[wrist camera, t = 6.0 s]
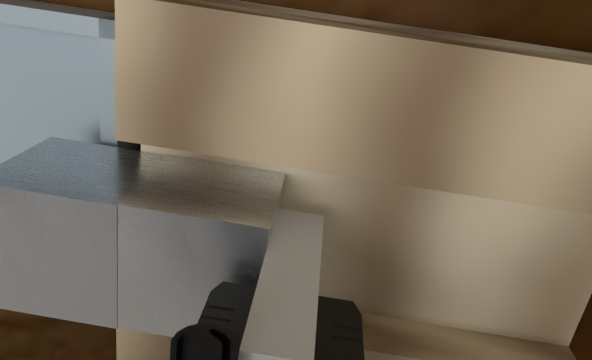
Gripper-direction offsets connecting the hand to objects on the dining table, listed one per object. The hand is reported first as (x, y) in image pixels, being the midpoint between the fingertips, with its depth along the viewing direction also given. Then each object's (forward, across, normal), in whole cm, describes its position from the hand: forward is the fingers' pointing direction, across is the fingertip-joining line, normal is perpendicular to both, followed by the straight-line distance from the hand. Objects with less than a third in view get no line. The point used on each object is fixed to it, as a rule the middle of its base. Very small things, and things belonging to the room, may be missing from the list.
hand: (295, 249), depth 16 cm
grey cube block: (+1, -7, 0) cm, 7 cm away
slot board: (+4, +2, 0) cm, 4 cm away
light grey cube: (+1, -3, 0) cm, 3 cm away
